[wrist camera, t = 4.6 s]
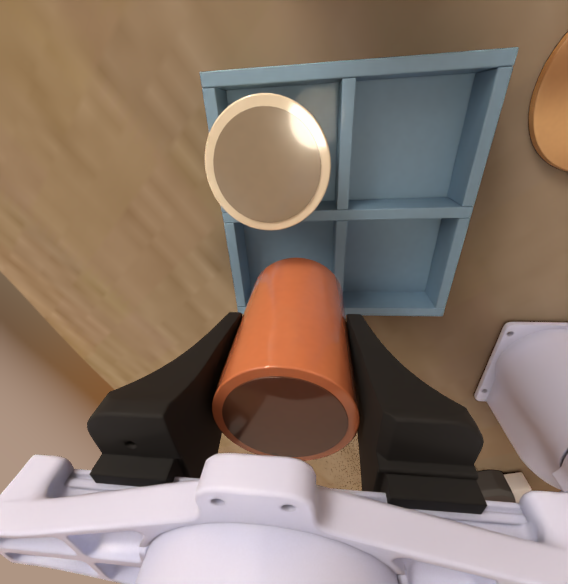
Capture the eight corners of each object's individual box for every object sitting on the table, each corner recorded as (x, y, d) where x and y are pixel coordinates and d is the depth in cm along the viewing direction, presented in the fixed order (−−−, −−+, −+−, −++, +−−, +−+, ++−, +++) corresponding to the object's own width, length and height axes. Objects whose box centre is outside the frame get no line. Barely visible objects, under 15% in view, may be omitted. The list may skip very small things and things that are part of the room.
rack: (429, 295, 24) (443, 316, 21) (245, 294, 25) (238, 314, 23) (488, 56, 16) (519, 46, 13) (215, 77, 17) (198, 71, 15)
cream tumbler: (324, 189, 20) (329, 230, 13) (249, 192, 20) (215, 232, 13) (326, 97, 17) (333, 87, 10) (239, 103, 18) (191, 97, 11)
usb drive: (415, 480, 38) (421, 504, 36) (519, 465, 34) (534, 491, 32) (425, 499, 40) (431, 523, 38) (523, 487, 37) (538, 512, 34)
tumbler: (340, 333, 18) (354, 467, 11) (257, 331, 19) (223, 458, 12) (345, 256, 15) (367, 370, 9) (248, 257, 16) (196, 364, 9)
